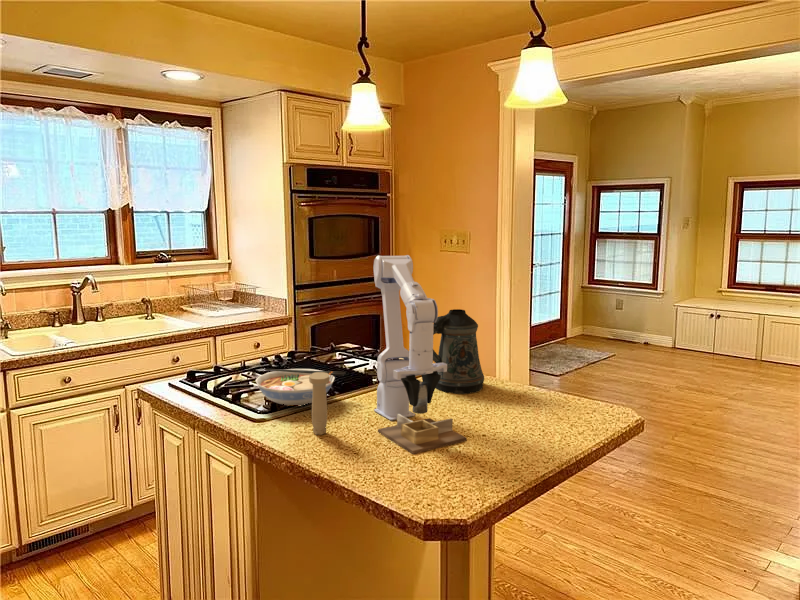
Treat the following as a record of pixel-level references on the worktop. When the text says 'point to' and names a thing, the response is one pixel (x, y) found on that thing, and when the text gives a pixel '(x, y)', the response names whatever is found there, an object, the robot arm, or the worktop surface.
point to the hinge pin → (421, 399)
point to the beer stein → (458, 353)
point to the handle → (319, 401)
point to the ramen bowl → (291, 385)
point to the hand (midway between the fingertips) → (420, 403)
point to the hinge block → (422, 434)
